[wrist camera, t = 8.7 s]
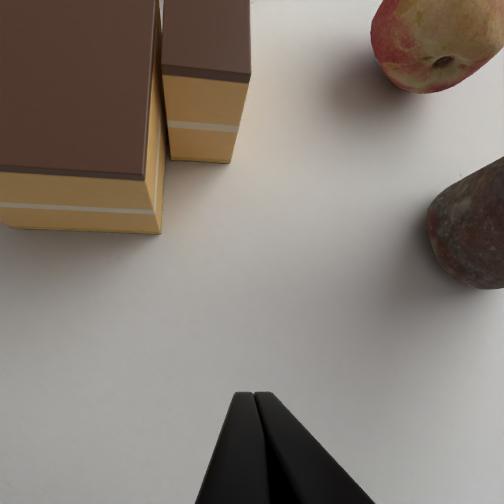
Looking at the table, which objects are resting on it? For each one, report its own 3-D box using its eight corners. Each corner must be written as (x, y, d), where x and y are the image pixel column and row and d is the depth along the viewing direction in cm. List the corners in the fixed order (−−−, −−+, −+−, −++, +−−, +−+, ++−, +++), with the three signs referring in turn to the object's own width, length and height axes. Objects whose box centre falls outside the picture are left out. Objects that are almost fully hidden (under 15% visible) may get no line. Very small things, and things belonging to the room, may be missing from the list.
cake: (161, 234, 20) (144, 175, 13) (11, 228, 19) (-111, 158, 11) (168, 100, 22) (157, -21, 15) (33, 86, 21) (-57, -55, 13)
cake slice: (230, 164, 22) (252, 74, 14) (170, 160, 22) (160, 64, 14) (229, 4, 25) (247, -141, 17) (177, -3, 24) (171, -158, 17)
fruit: (336, 83, 25) (401, -27, 17) (373, 13, 27) (444, -113, 19) (429, 135, 25) (532, 50, 18) (457, 61, 28) (561, -44, 20)
